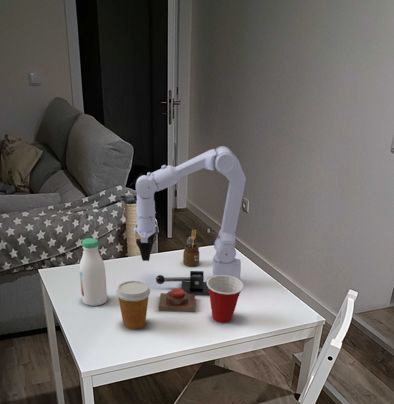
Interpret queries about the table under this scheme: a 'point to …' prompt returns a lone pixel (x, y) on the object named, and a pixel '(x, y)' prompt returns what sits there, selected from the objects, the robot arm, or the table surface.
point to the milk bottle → (92, 274)
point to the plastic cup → (223, 296)
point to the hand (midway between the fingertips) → (146, 255)
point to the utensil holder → (191, 253)
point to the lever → (172, 279)
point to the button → (177, 293)
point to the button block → (177, 303)
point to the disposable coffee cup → (133, 303)
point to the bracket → (196, 284)
